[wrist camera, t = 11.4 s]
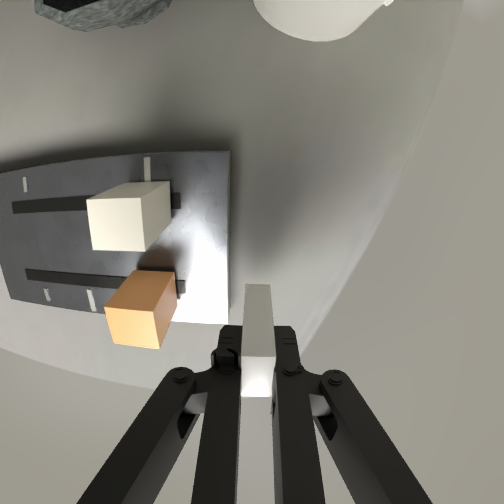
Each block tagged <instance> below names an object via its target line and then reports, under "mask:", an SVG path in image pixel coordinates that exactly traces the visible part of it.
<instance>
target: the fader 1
mask: <svg viewBox="0 0 504 504" xmlns="http://www.w3.org/2000/svg"><path fill="white" fill-rule="evenodd" d="M86 202H87V211H88V219H89V227H90V234H91V241H92V247H93V250H110V251H139V252H145V251H146V250H147V249H148V248H149V247H150V246H151V245H152V243H153V242H154V241H155V240H156V239H157V238H158V237H159V236H160V235H161V233H162V232H163V231H164V230H165V229H166V228H167V227H168V226H169V225H170V224H171V205H170V181H160V182H132V183H123V184H121V185H119V186H116V187H114V188H112V189H109V190H107V191H105V192H102V193H100V194H98V195H96V196H93V197H91V198H89V199H87V200H86Z"/></svg>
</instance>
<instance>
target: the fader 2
mask: <svg viewBox="0 0 504 504" xmlns="http://www.w3.org/2000/svg"><path fill="white" fill-rule="evenodd" d="M177 306H178V304H177V294H176V285H175V274H174V272H161V271H142V270H133V271H132V272H131V274H130V275H129V276H128V277H127V278H126V280H125V281H124V282H123V283H122V285H121V286H120V287H119V288H118V290H117V291H116V292H115V294H114V295H113V296H112V297H111V299H110V300H109V301H108V302H107V304H106V305H105V306H104V309H105V313H106V317H107V320H108V324H109V328H110V331H111V335H112V338H113V342H114V343H116V344H123V345H130V346H138V347H146V348H154V349H160V347H161V345H162V342H163V340H164V337H165V335H166V332H167V330H168V327H169V325H170V323H171V320H172V318H173V315H174V313H175V311H176V308H177Z"/></svg>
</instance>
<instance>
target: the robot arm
mask: <svg viewBox="0 0 504 504" xmlns="http://www.w3.org/2000/svg"><path fill="white" fill-rule="evenodd" d="M211 365H212V367H211V368H210V369H208V370H206V371H203V372H198V373H194V372H193V371H192V370H191V369H188V368H186V367H177V368H174V369H171V370H170V371H169V372H168V373H167V374H166V376H165V377H164V378H163V380H162V381H161V383H160V384H159V386H158V387H157V388H156V390H155V391H154V393H153V394H152V396H151V397H150V399H149V400H148V401H147V403H146V404H145V406H144V407H143V409H142V410H141V412H140V413H139V414H138V416H137V417H136V419H135V420H134V422H133V423H132V424H131V426H130V427H129V429H128V430H127V432H126V433H125V435H124V436H123V437H122V439H121V440H120V442H119V443H118V445H117V446H116V447H115V449H114V450H113V452H112V453H111V455H110V456H109V458H108V459H107V460H106V462H105V463H104V465H103V466H102V468H101V469H100V471H99V472H98V473H97V475H96V476H95V478H94V479H93V481H92V482H91V483H90V485H89V486H88V488H87V489H86V491H85V492H84V494H83V495H82V496H81V498H80V499H79V501H78V502H77V504H153V503H154V501H155V499H156V497H157V495H158V494H159V492H160V490H161V488H162V486H163V484H164V482H165V481H166V479H167V477H168V475H169V473H170V471H171V469H172V468H173V465H174V464H175V462H176V460H177V458H178V456H179V454H180V452H181V450H182V449H183V447H184V445H185V443H186V441H187V439H188V437H189V435H190V433H191V431H192V429H193V427H194V425H195V423H196V421H197V420H198V418H199V416H200V413H204V419H203V425H202V432H201V439H200V445H199V452H198V458H197V465H196V472H195V479H194V486H193V493H192V500H191V504H236V501H237V499H236V498H237V477H238V456H239V434H240V414H241V396H256V397H272V405H271V414H272V428H273V429H272V431H273V458H274V486H275V487H274V489H275V504H325V497H324V489H323V482H322V476H321V468H320V461H319V454H318V448H317V441H316V435H315V428H314V422H315V424H316V426H317V428H318V430H319V432H320V434H321V436H322V438H323V440H324V442H325V444H326V446H327V448H328V450H329V452H330V454H331V456H332V458H333V460H334V462H335V464H336V466H337V468H338V470H339V472H340V474H341V476H342V478H343V480H344V482H345V484H346V486H347V488H348V490H349V491H350V494H351V496H352V498H353V500H354V502H355V503H356V504H432V502H431V500H430V499H429V498H428V496H427V494H426V493H425V491H424V490H423V488H422V487H421V485H420V484H419V482H418V480H417V479H416V478H415V476H414V474H413V473H412V471H411V470H410V468H409V467H408V465H407V464H406V462H405V461H404V459H403V458H402V456H401V455H400V453H399V452H398V450H397V449H396V447H395V446H394V444H393V442H392V441H391V439H390V438H389V436H388V435H387V433H386V432H385V430H384V429H383V427H382V426H381V425H380V423H379V421H378V420H377V418H376V417H375V416H374V414H373V412H372V411H371V409H370V408H369V406H368V405H367V404H366V402H365V400H364V399H363V397H362V396H361V394H360V393H359V392H358V390H357V389H356V387H355V386H354V384H353V383H352V381H351V380H350V378H349V377H348V376H347V374H345V373H344V372H342V371H340V370H328V371H326V372H325V373H324V374H323V375H318V374H313V373H310V372H308V371H306V370H305V369H304V367H303V366H302V365H301V363H300V357H299V351H298V345H297V340H296V334H295V331H294V330H293V329H292V328H291V326H274V325H273V313H272V301H271V290H270V285H265V284H246V285H245V300H244V316H243V326H237V325H224V327H223V328H222V329H221V330H220V334H219V340H218V346H217V348H216V349H215V350H214V351H212V353H211ZM313 420H314V422H313Z"/></svg>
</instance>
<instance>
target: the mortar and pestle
mask: <svg viewBox="0 0 504 504" xmlns="http://www.w3.org/2000/svg"><path fill="white" fill-rule="evenodd" d="M171 1H172V0H35V13H36V14H39V15H41V16H44V17H46V18H48V19H51V20H53V21H55V22H57V23H60V24H62V25H64V26H66V27H69V28H71V29H74V30H80V31H85V32H88V31H91V30H95V29H99V28H102V27H106V26H110V25H114V24H115V25H117V26H119V27H121V28H124V27H128V26H133V25H138V24H144V23H147V22H148V21H149V20H151V19H152V18H154V17H155V16H156V15H158V14H159V13H161V12H162V11H164V10H165V9H167V8H168V7H169V5H170V3H171Z"/></svg>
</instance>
